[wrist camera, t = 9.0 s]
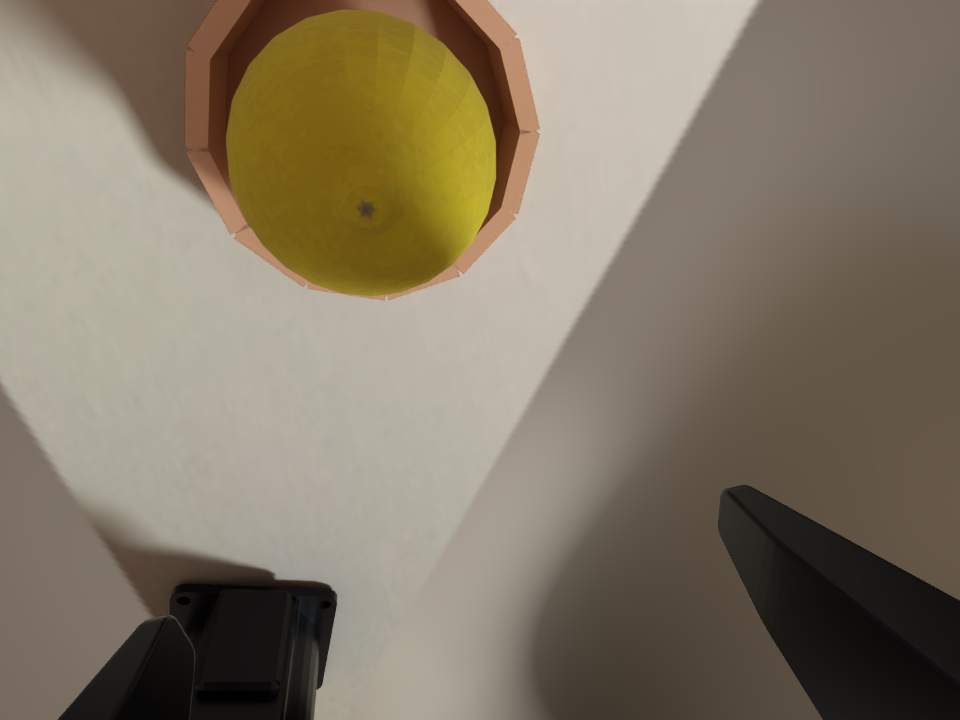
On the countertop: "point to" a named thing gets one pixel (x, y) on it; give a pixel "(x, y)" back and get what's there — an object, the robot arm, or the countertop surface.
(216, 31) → the dish
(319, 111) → the lemon
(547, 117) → the countertop surface
